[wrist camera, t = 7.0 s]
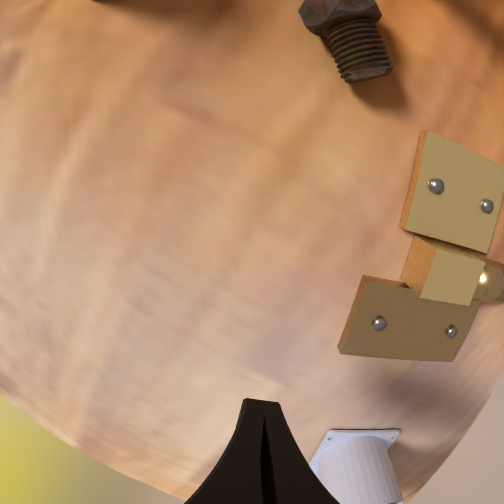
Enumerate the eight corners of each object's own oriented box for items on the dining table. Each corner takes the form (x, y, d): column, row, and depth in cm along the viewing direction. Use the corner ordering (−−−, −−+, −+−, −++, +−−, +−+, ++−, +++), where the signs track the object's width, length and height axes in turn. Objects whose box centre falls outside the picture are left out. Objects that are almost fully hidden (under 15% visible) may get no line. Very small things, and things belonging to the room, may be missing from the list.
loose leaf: (465, 291, 20) (486, 308, 17) (384, 275, 20) (401, 294, 17) (500, 168, 17) (526, 173, 14) (420, 130, 17) (445, 128, 14)
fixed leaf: (454, 355, 22) (470, 376, 19) (337, 346, 22) (347, 373, 19) (495, 258, 20) (519, 272, 17) (377, 225, 19) (396, 238, 16)
